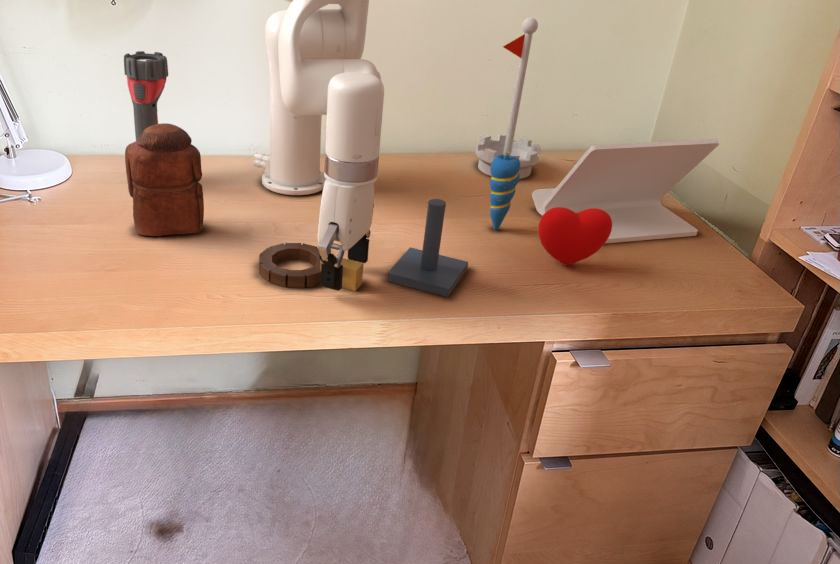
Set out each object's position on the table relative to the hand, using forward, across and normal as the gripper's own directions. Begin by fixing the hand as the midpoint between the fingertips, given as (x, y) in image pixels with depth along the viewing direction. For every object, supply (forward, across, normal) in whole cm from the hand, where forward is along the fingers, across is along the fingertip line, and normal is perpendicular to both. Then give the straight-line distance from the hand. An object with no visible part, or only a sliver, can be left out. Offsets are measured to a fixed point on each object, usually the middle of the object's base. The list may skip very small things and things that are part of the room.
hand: (344, 273), depth 118 cm
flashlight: (+2, -19, -49) cm, 52 cm away
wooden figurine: (+2, -2, -34) cm, 34 cm away
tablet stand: (+2, -47, +33) cm, 58 cm away
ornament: (+2, -31, +15) cm, 35 cm away
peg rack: (+2, -9, +10) cm, 14 cm away
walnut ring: (+2, 0, -6) cm, 6 cm away
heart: (+2, -24, +29) cm, 38 cm away
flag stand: (+2, -61, +9) cm, 62 cm away
